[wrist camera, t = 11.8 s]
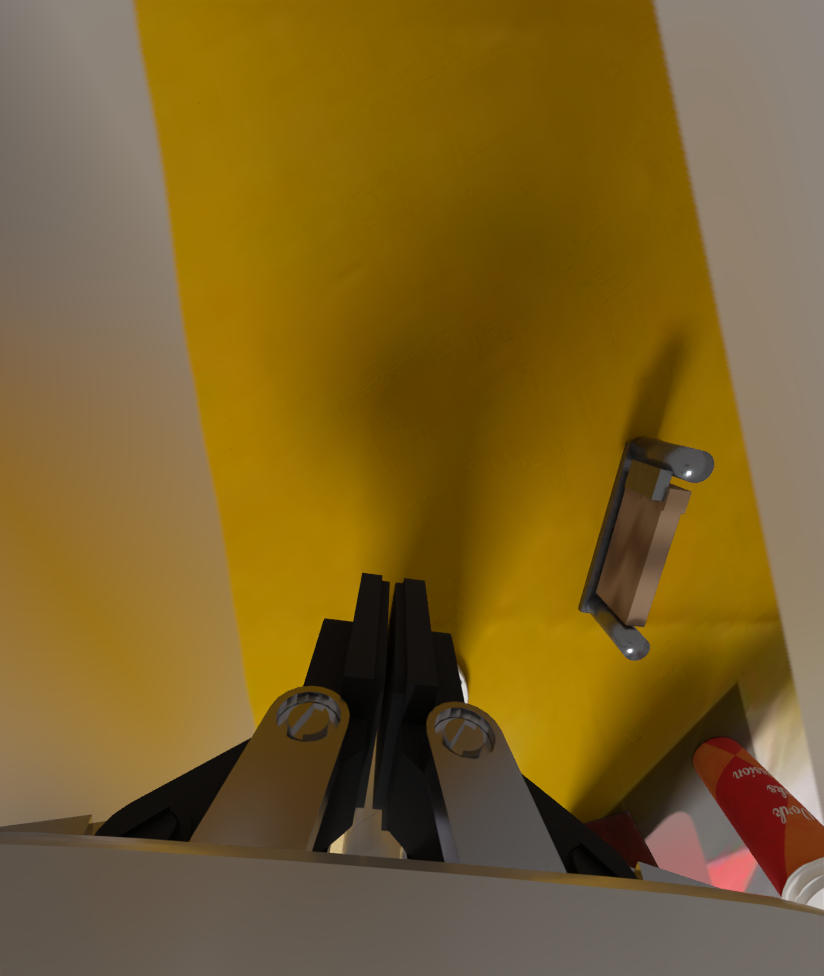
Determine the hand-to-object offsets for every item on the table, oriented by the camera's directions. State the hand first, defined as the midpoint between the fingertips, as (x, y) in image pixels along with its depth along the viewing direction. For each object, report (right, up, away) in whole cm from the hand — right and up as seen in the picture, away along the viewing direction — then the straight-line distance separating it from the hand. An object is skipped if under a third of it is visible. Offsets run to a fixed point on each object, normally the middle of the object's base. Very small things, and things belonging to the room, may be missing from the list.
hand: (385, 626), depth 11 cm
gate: (+20, -1, +28) cm, 34 cm away
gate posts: (+20, 0, +29) cm, 35 cm away
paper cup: (+35, -27, +36) cm, 57 cm away
